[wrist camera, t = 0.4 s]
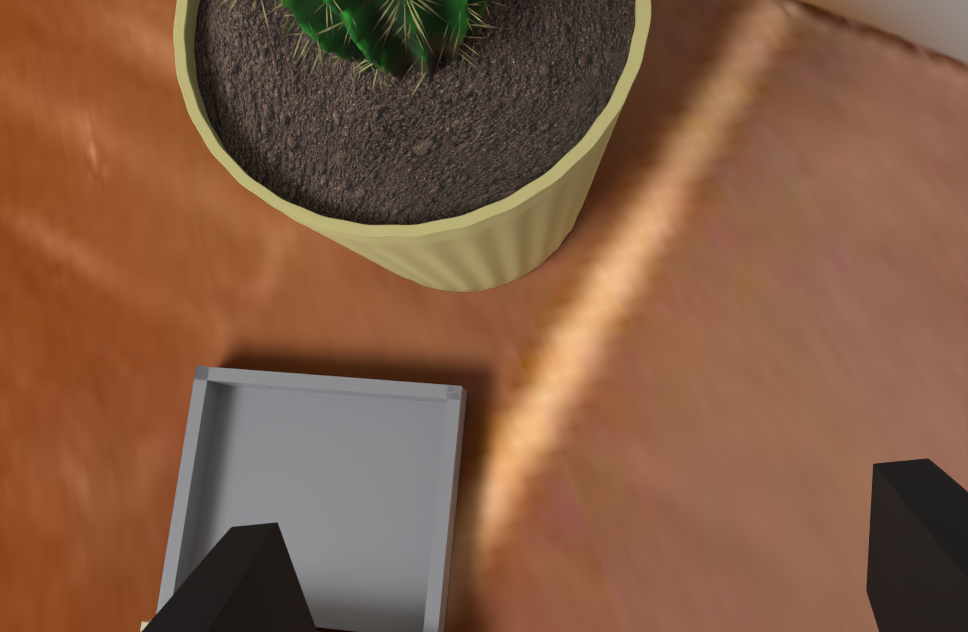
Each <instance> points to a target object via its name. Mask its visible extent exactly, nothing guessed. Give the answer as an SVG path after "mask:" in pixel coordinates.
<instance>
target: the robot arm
mask: <svg viewBox="0 0 968 632" xmlns="http://www.w3.org/2000/svg"><path fill="white" fill-rule="evenodd" d="M866 591H867V594H868V597H869V600H870V604H871V607H872V610H873V613H874V616H875V620H876V623H877V626H878V629H879V632H968V492H967V491H966V490H965V489H964V488H963V487H962V486H960V485H959V484H958V483H957V482H956V481H955V480H953V479H952V478H951V477H950V476H949V475H948V474H946V473H945V472H944V471H943V470H942V469H940V468H939V467H938V466H937V465H936V464H934V463H933V462H932V461H931V460H929V459H918V460H908V461H897V462H887V463H877V464H873V478H872V497H871V515H870V534H869V552H868V571H867V589H866ZM141 632H317V630H316V627H315V624H314V621H313V619H312V616H311V613H310V610H309V608H308V605H307V602H306V599H305V597H304V594H303V591H302V588H301V586H300V583H299V580H298V577H297V575H296V572H295V569H294V566H293V563H292V561H291V558H290V555H289V552H288V550H287V547H286V544H285V541H284V539H283V536H282V533H281V530H280V528H279V525H278V522H276V523H266V524H255V525H245V526H235V527H231V528H230V529H229V530H228V531H227V532H226V534H225V535H224V536H223V537H222V538H221V539H220V540H219V541H218V543H217V544H216V545H215V546H214V547H213V548H212V549H211V551H210V552H209V553H208V554H207V555H206V557H205V558H204V559H203V560H202V561H201V562H200V564H199V565H198V566H197V567H196V568H195V570H194V571H193V572H192V573H191V574H190V576H189V577H188V578H187V579H186V580H185V581H184V583H183V584H182V585H181V586H180V587H179V589H178V590H177V591H176V592H175V593H174V594H173V596H172V597H171V598H170V599H169V600H168V602H167V603H166V604H165V605H164V606H163V607H162V609H161V610H160V611H159V612H158V613H157V614H156V615H155V617H154V618H153V619H152V620H151V621H150V622H149V623H148V625H147V626H146V627H145V628H144V629H143V630H142V631H141Z"/></svg>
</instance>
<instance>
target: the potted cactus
mask: <svg viewBox="0 0 968 632" xmlns="http://www.w3.org/2000/svg"><path fill="white" fill-rule="evenodd" d="M650 23H651V0H177V4H176V13H175V21H174V30H173V40H174V50H175V63H176V72H177V78H178V81H179V84H180V87H181V90H182V93H183V97H184V100H185V103H186V107H187V110H188V113H189V115H190V117H191V119H192V121H193V123H194V124H195V126H196V128H197V129H198V131H199V133H200V134H201V136H202V138H203V140H204V141H205V143H206V145H207V147H208V148H209V150H210V151H211V153H212V154H213V155H214V156H215V157H216V158H217V159H218V160H219V161H220V162H221V163H222V164H223V166H224V167H225V168H226V169H227V170H228V171H229V172H230V173H231V174H232V176H233V177H234V178H235V179H236V180H237V181H238V182H239V183H240V184H242V185H243V186H244V187H245V188H247V189H248V190H250V191H251V192H253V193H254V194H256V195H257V196H259V197H260V198H262V199H263V200H264V201H266V202H267V203H269V204H270V205H271V206H273V207H274V208H276V209H278V210H280V211H282V212H283V213H284V214H286V215H287V216H289V217H290V218H292V219H293V220H295V221H297V222H299V223H301V224H303V225H305V226H307V227H309V228H311V229H313V230H315V231H317V232H319V233H320V234H322V235H324V236H326V237H328V238H330V239H332V240H334V241H336V242H338V243H339V244H341V245H343V246H345V247H347V248H349V249H351V250H353V251H355V252H356V253H358V254H360V255H362V256H364V257H366V258H368V259H370V260H371V261H373V262H375V263H377V264H379V265H381V266H383V267H384V268H386V269H388V270H390V271H392V272H394V273H396V274H398V275H399V276H401V277H403V278H406V279H410V280H412V281H415V282H417V283H419V284H421V285H422V286H424V287H431V288H436V289H441V290H445V291H448V292H451V291H470V292H474V291H479V290H484V289H490V288H495V287H498V286H501V285H504V284H506V283H509V282H511V281H514V280H516V279H519V278H521V277H522V276H524V275H525V274H527V273H529V272H530V271H532V270H533V269H535V268H536V267H538V266H540V265H541V264H542V263H543V262H544V261H545V260H546V259H547V258H548V257H549V256H550V255H551V254H552V253H553V252H554V251H556V250H557V249H558V248H559V247H560V245H561V243H562V242H563V240H564V239H565V237H566V236H567V234H568V233H569V232H570V231H571V230H572V228H573V226H574V223H575V221H576V218H577V216H578V213H579V212H580V210H581V208H582V206H583V203H584V201H585V198H586V196H587V194H588V191H589V189H590V186H591V184H592V181H593V179H594V176H595V174H596V171H597V169H598V166H599V164H600V161H601V159H602V156H603V154H604V151H605V149H606V146H607V144H608V141H609V139H610V136H611V134H612V131H613V129H614V127H615V124H616V122H617V119H618V117H619V114H620V112H621V110H622V107H623V105H624V103H625V100H626V98H627V96H628V93H629V91H630V88H631V86H632V84H633V82H634V80H635V78H636V76H637V74H638V71H639V69H640V66H641V63H642V60H643V56H644V50H645V45H646V40H647V36H648V32H649V28H650Z"/></svg>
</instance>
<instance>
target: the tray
mask: <svg viewBox="0 0 968 632" xmlns="http://www.w3.org/2000/svg"><path fill="white" fill-rule="evenodd" d="M467 394H468V392H467V391H466V390H465V389H464V388H463V386H456V385H442V384H429V383H416V382H403V381H390V380H376V379H363V378H350V377H337V376H324V375H310V374H297V373H284V372H271V371H258V370H244V369H231V368H218V367H205V366H196V372H195V378H194V384H193V390H192V396H191V403H190V409H189V415H188V421H187V427H186V433H185V440H184V446H183V452H182V458H181V464H180V471H179V477H178V483H177V489H176V495H175V502H174V508H173V514H172V520H171V526H170V532H169V539H168V545H167V551H166V557H165V563H164V570H163V576H162V582H161V588H160V594H159V601H158V607H157V613H158V612H159V611H160V610H161V609H162V607H163V606H164V605H165V604H166V603H167V602H168V600H169V599H170V598H171V597H172V596H173V594H174V593H175V592H176V591H177V590H178V589H179V587H180V586H181V585H182V584H183V583H184V581H185V580H186V579H187V578H188V577H189V576H190V574H191V573H192V572H193V571H194V570H195V568H196V567H197V566H198V565H199V564H200V562H201V561H202V560H203V559H204V558H205V557H206V555H207V554H208V553H209V552H210V551H211V549H212V548H213V547H214V546H215V545H216V544H217V543H218V541H219V540H220V539H221V538H222V537H223V536H224V535H225V534H226V532H227V531H228V530H229V529H230V528H231V527H235V526H245V525H255V524H266V523H276V522H278V525H279V528H280V530H281V533H282V536H283V539H284V541H285V544H286V547H287V550H288V552H289V555H290V558H291V561H292V563H293V566H294V569H295V572H296V575H297V577H298V580H299V583H300V586H301V588H302V591H303V594H304V597H305V599H306V602H307V605H308V608H309V610H310V613H311V616H312V619H313V621H314V624H315V627H320V628H328V629H337V630H346V631H355V632H444V631H445V620H446V610H447V600H448V589H449V579H450V569H451V558H452V548H453V538H454V528H455V517H456V507H457V497H458V486H459V476H460V466H461V455H462V445H463V435H464V425H465V414H466V404H467ZM157 613H156V614H157Z"/></svg>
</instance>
